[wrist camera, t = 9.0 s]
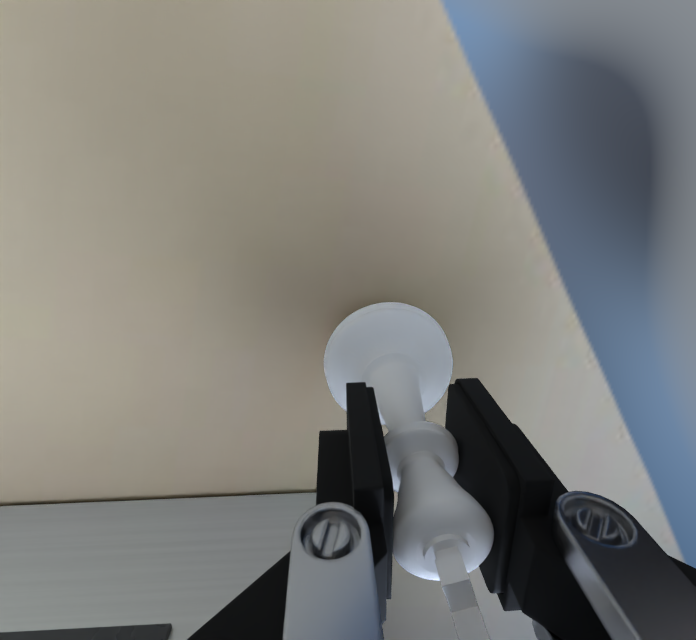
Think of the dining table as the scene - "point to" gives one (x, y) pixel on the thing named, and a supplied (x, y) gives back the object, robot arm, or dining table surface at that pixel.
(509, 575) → the robot arm
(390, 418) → the chess piece
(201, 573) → the microwave door
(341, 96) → the dining table surface
